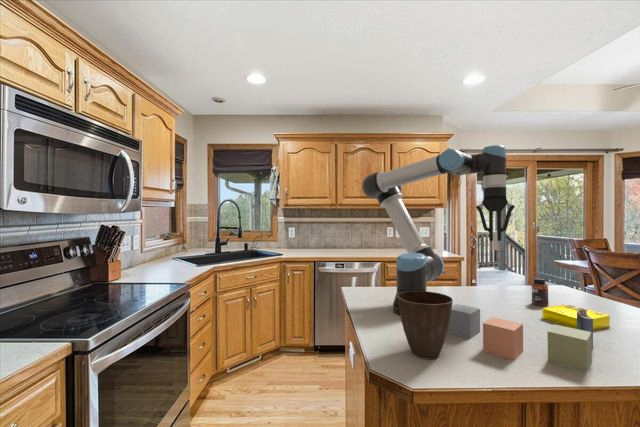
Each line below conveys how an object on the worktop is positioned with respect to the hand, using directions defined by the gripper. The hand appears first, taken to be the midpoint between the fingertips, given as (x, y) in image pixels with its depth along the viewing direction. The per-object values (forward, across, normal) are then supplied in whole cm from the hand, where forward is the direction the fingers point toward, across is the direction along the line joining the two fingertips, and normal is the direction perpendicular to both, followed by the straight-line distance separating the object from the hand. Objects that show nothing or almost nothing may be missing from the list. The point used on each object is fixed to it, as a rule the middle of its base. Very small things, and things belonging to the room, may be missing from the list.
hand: (495, 249), depth 115 cm
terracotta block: (+27, -1, +30) cm, 40 cm away
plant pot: (+27, +19, +42) cm, 53 cm away
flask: (+27, -23, +12) cm, 37 cm away
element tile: (+27, -26, -11) cm, 39 cm away
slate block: (+27, +10, +19) cm, 34 cm away
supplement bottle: (+27, -18, -32) cm, 45 cm away
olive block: (+27, -16, +29) cm, 42 cm away
